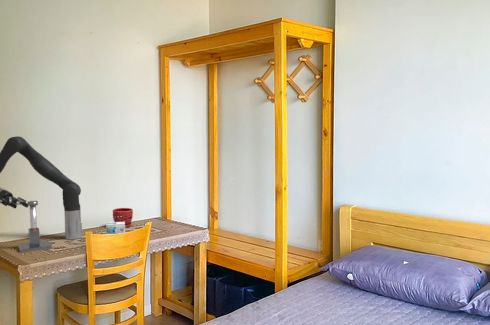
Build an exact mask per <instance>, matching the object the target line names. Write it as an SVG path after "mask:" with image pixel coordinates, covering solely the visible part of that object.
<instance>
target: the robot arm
mask: <svg viewBox="0 0 490 325" xmlns="http://www.w3.org/2000/svg"><path fill="white" fill-rule="evenodd" d="M0 150H1V151H0V174H1V173H2V172H3V170H4V169H5V167H6V165H7V163H8V162H9V160H10V159H11V158H12V157H13V156H14V155H15V154H17V153H19V154H20V155H21V156H23V157H24V158H25V159H26V160H27V161H28V163H29V164H30V165H31V167H32V169H33V170H35V172H36V173H37V174H39V175H40V176H42V177H43V178H44V179H46V180H47V181H49V182H51V183H53V184H55V185H57V186H58V187H59V188H60V189H61V190H62V205H63V206H62V207H63V208H64V211H63V213H64V215H63V216H64V233H65V234H64V237H65V240H78V239H82V238H83V223H82V214H81V213H82V212H81V211H82V210H81V204H80V195H81V192H82V189H81V186H79V184H78V183H76V182H75V181H73V180H71V179H70V178H69V177H67V176H66V175H65V174H64V173H63V172H62V171H61V170H60V169H58V168H57V167H56V166H55V165H54V164H53V163H52V162H51V161H50V160H49V159H47V158H46V157H44V156H43V155H42V154H41V153H40V152H38V151H37V150H35V148H34V147H33V146H32V145H31V144H30V143H29V142H28V141H27V140H26V139H25V138H23V137H22V136H19V135H18V136H17V135H16V136H12V137H9V138H8V139H7V140H6V142H5V144H4V145H3V147H2V149H0ZM0 204H2V205H3V206H4V207H7V206H8V207H11V208H12V209H17V206H19V205H20V206H23V207H24V208H29V206H28V203H27V200H25V199H24V198H21V197H19V196H18V197H15V196H14V194H13V193H12V192H10V191H8V190H6V189H5V188H2V187H0Z"/></svg>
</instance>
